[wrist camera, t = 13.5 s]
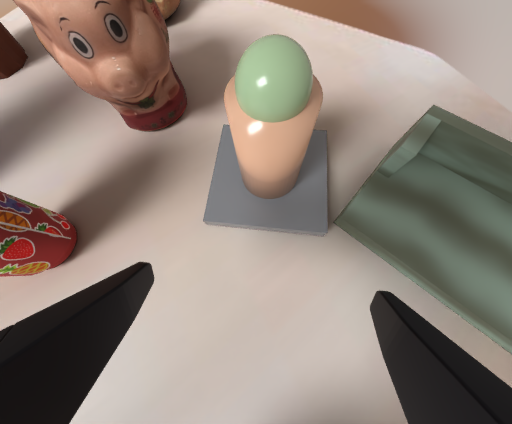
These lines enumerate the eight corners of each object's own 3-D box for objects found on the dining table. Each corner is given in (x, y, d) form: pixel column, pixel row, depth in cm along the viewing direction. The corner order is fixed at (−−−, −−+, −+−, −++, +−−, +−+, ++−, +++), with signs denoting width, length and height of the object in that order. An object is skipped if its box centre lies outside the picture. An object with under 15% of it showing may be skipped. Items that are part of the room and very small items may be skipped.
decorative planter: (93, 79, 31) (-35, -70, 18) (162, 49, 32) (92, -107, 19) (137, 168, 25) (-6, 42, 12) (219, 124, 26) (174, -27, 13)
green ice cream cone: (299, 198, 21) (349, 85, 8) (240, 199, 21) (207, 91, 9) (295, 148, 23) (330, 0, 11) (242, 150, 23) (216, 8, 11)
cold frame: (547, 380, 16) (702, 435, 10) (333, 222, 21) (358, 201, 16) (590, 256, 19) (729, 247, 13) (393, 145, 24) (433, 104, 18)
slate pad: (323, 236, 21) (327, 233, 19) (207, 224, 22) (203, 220, 20) (323, 138, 25) (326, 130, 24) (225, 132, 26) (223, 124, 25)
